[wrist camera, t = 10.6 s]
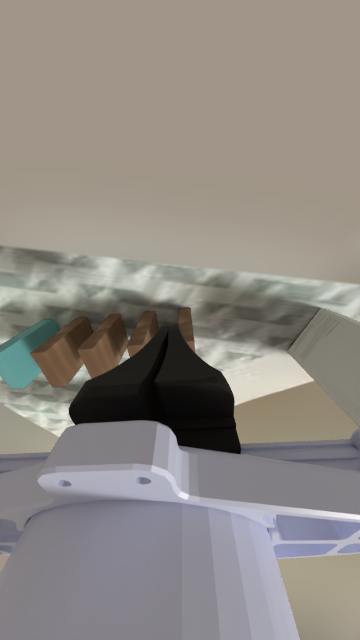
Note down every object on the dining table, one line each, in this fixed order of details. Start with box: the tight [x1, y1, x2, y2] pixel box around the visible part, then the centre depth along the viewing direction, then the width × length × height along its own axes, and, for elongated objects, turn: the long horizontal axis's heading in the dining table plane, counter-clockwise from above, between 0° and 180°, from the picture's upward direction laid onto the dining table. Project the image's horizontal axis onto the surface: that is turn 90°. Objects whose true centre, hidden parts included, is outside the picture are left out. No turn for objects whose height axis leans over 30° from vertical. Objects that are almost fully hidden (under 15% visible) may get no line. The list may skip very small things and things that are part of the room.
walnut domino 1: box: [30, 317, 93, 387], centre depth 21 cm, size 2×5×8 cm, turn 6°
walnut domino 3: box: [127, 311, 159, 357], centre depth 20 cm, size 2×5×8 cm, turn 6°
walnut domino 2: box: [78, 314, 129, 379], centre depth 20 cm, size 2×5×8 cm, turn 6°
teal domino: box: [0, 319, 60, 389], centre depth 21 cm, size 2×5×8 cm, turn 6°
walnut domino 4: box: [178, 308, 195, 352], centre depth 20 cm, size 2×5×8 cm, turn 6°
